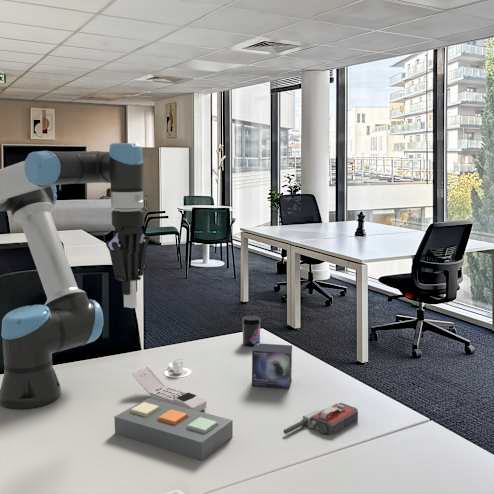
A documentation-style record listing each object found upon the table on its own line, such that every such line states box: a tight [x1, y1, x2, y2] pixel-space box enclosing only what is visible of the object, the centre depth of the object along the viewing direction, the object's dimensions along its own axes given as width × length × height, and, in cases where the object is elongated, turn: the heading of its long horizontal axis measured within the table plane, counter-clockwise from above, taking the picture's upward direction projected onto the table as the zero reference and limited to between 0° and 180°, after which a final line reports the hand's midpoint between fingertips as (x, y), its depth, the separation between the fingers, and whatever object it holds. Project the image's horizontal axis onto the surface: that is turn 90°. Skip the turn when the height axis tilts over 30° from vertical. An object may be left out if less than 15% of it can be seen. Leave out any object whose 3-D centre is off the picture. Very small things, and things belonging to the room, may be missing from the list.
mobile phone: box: [130, 366, 208, 412], centre depth 151 cm, size 6×6×25 cm
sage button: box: [188, 417, 217, 434], centre depth 129 cm, size 5×5×4 cm
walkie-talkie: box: [283, 402, 359, 436], centre depth 138 cm, size 9×4×20 cm
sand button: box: [131, 402, 160, 417], centre depth 137 cm, size 5×5×4 cm
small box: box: [251, 342, 293, 390], centre depth 163 cm, size 11×6×10 cm, turn 80°
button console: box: [114, 397, 234, 461], centre depth 133 cm, size 24×12×4 cm, turn 60°
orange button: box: [158, 409, 187, 425], centre depth 133 cm, size 5×5×4 cm
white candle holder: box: [163, 358, 192, 379], centre depth 172 cm, size 9×8×4 cm
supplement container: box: [242, 315, 261, 347], centre depth 197 cm, size 6×6×9 cm
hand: (130, 306), depth 143 cm, fingers closed
